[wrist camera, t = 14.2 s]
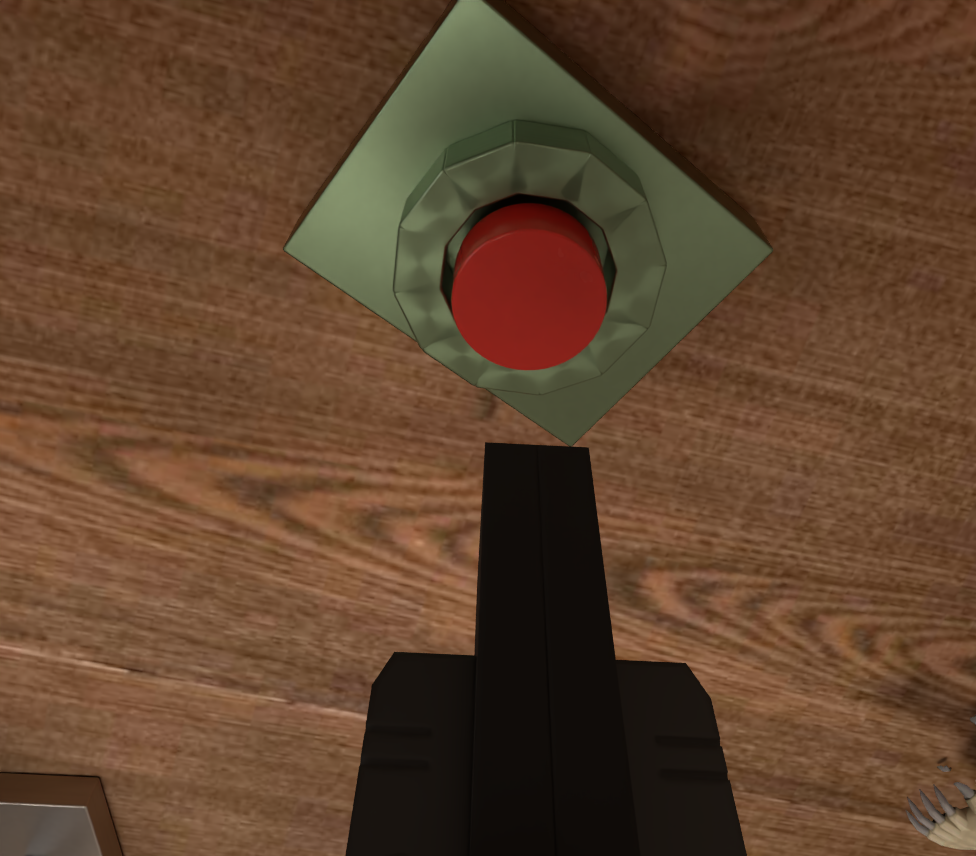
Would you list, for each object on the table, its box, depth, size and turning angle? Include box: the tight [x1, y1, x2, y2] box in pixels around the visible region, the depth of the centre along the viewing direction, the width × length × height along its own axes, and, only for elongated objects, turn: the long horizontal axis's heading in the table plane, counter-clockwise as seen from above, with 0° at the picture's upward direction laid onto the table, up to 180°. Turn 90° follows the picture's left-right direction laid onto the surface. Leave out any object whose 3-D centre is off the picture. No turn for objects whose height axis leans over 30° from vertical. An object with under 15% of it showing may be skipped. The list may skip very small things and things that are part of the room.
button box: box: [283, 0, 773, 447], centre depth 24 cm, size 10×8×4 cm
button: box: [451, 203, 607, 370], centre depth 22 cm, size 4×4×2 cm
